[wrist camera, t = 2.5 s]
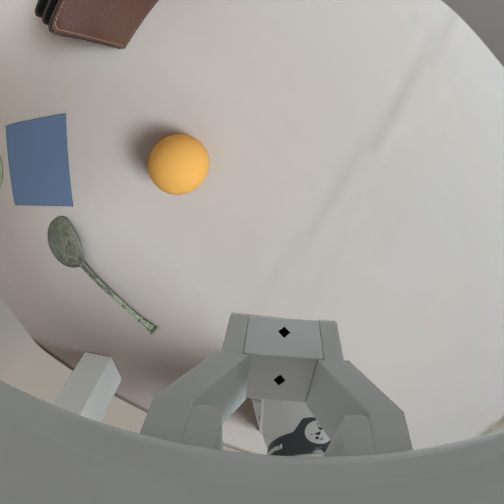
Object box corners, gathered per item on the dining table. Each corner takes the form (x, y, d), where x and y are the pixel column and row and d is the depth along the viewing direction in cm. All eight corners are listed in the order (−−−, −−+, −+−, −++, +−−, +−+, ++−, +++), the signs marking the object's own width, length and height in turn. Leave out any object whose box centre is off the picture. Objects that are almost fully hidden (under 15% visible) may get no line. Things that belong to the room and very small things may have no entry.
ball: (214, 187, 33) (200, 204, 28) (161, 184, 33) (139, 201, 28) (215, 131, 30) (201, 138, 25) (160, 131, 31) (137, 138, 25)
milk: (96, 373, 51) (47, 465, 31) (85, 351, 48) (27, 446, 29) (122, 379, 50) (76, 478, 31) (112, 356, 48) (57, 460, 28)
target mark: (73, 205, 35) (72, 206, 35) (15, 204, 36) (15, 204, 36) (65, 113, 30) (64, 113, 30) (6, 125, 31) (6, 125, 30)
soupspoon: (65, 202, 37) (48, 229, 39) (49, 211, 34) (33, 239, 36) (170, 318, 42) (144, 335, 45) (161, 334, 40) (136, 349, 42)
